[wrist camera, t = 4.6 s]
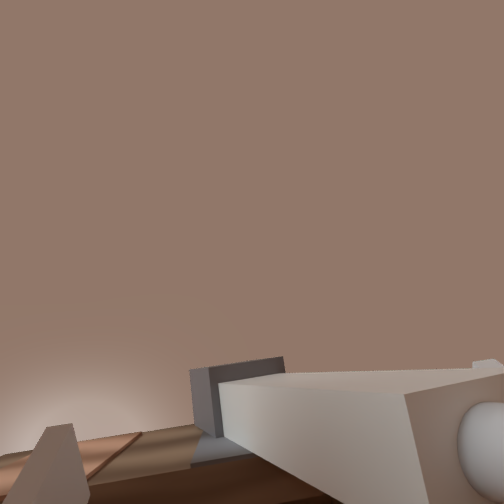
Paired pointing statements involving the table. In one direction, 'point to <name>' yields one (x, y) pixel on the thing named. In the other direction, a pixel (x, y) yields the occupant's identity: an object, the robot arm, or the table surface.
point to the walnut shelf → (177, 471)
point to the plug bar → (365, 428)
